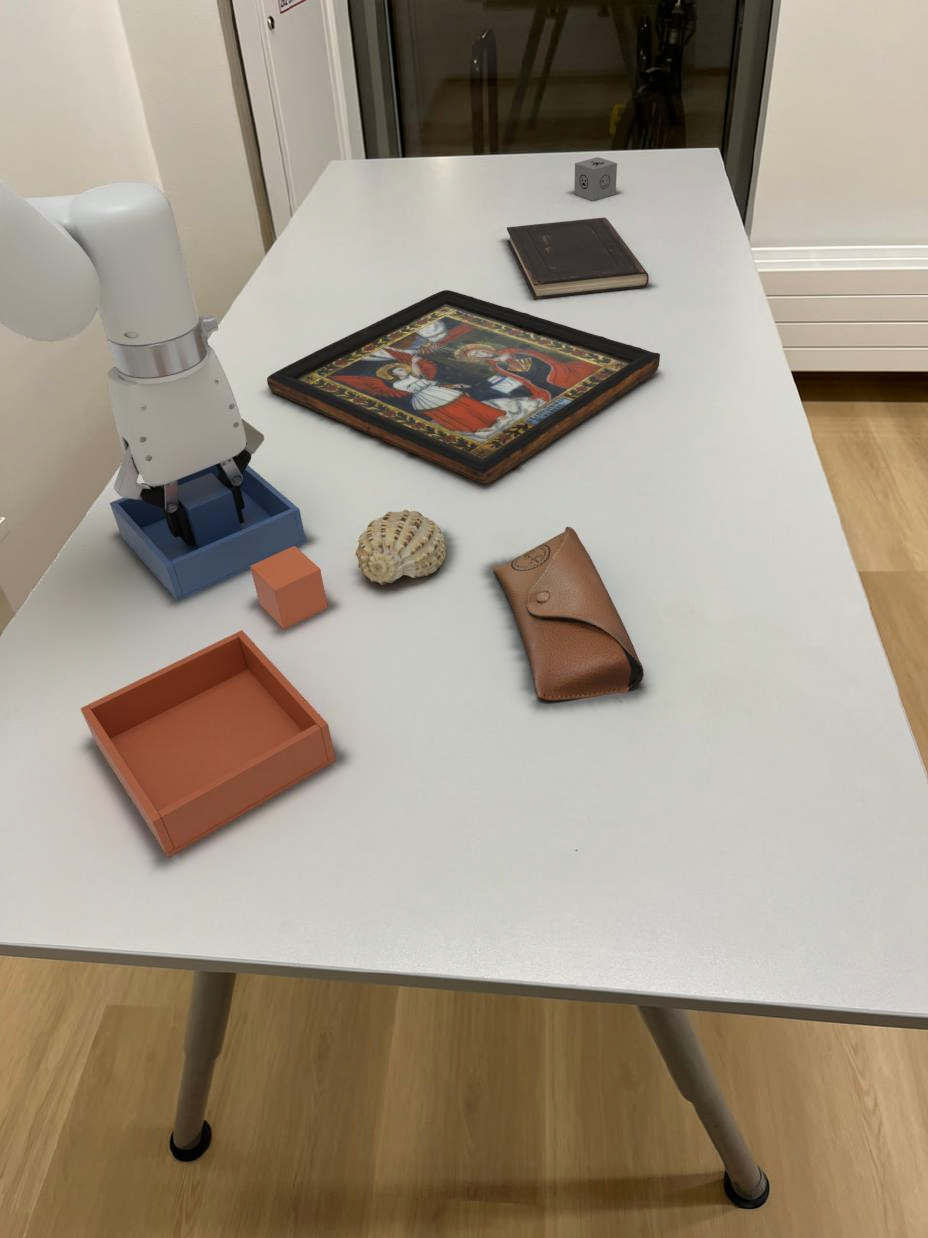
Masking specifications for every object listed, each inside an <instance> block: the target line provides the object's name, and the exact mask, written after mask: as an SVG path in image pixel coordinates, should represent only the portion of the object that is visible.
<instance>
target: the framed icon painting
mask: <svg viewBox="0 0 928 1238" xmlns="http://www.w3.org/2000/svg"><path fill="white" fill-rule="evenodd" d="M660 360H661V353H658V352H653V351H650V350H648V349H644V348H641V347H638V346H633V345H632V344H627V343H624V342H621V341H618V340H617V341H616V340H613V339H610V338H607V337H604V336H601V335H597V334H594V333H590V332H587V331H584V330H580V329H577V328H574V327H572V326H568V325H565V324H561V323H558V322H555V321H552V320H549V319H545V318H543V317H542V318H541V317H538V316H535V315H533V314H530V313H527V312H523V311H520V310H516V309H514V308H510V307H507V306H503V305H500V304H496V303H493V302H490V301H486V300H483V299H480V298H477V297H473V296H470V295H467V294H463V293H461V292H457V291H454V290H449V289H444V290H441V291H438V292H436V293H434V294H431V295H429V296H427V297H425V298H423V299H421V300H419V301H417V302H415V303H413V304H411V305H409V306H407V307H404V308H402V309H401V310H398V311H397V312H395V313H393V314H390V315H388V316H386V317H384V318H382V319H380V320H378V321H376V322H374V323H372V324H370V325H368V326H366V327H364V328H362V329H359V330H357V331H355V332H353V333H351V334H349V335H347V336H344V337H342V338H340V339H339V340H337V341H334V342H332V343H330V344H328V345H326V346H324V347H322V348H319V349H318V350H315V351H314V352H312V353H310V354H308V355H305V356H303V357H302V358H300V359H298V360H296V361H294V362H292V363H290V364H288V365H286V366H284V367H282V368H280V369H279V370H277V371H275V372H273V373H271V374H269V376H267V378H266V383H267V386H268V389H269V390H270V391H271V392H273V394H277V395H279V396H280V397H283V398H285V399H288V400H290V401H292V402H294V403H297V404H299V405H301V406H304V407H305V408H308V409H310V410H313V411H314V412H317V413H320V414H322V415H324V416H327V417H328V418H331V419H333V420H335V421H338V422H340V423H343V424H345V425H347V426H349V427H352V428H354V429H356V430H358V431H361V432H363V433H366V434H368V435H370V436H372V437H374V438H377V439H379V440H381V441H384V442H386V443H388V444H391V445H392V446H395V447H397V448H401V449H403V450H405V451H407V452H409V453H411V454H414V455H416V456H418V457H420V458H422V459H425V460H427V461H430V462H433V463H435V464H437V465H439V466H441V467H443V468H446V469H448V470H450V471H453V472H454V473H457V474H459V475H462V476H464V477H465V478H468V479H470V480H473V481H476V482H478V483H481V484H484V485H485V484H489V483H491V482H493V481H495V480H496V479H498V478H500V477H501V476H503V475H504V474H506V473H508V472H509V471H511V470H513V468H515V467H517V466H518V465H520V464H521V463H523V462H524V461H527V459H528V458H530V457H532V456H533V455H535V454H537V452H540V451H541V450H543V449H544V448H546V447H547V446H548V445H550V444H551V443H552V442H554V441H555V440H557V439H559V438H560V437H561V436H563V435H564V434H565V433H567V432H569V431H570V430H571V429H573V428H574V427H577V426H578V425H579V424H581V423H582V422H584V421H585V420H587V419H588V418H590V417H591V416H593V415H594V414H595V413H597V412H599V411H600V410H602V409H603V408H605V407H606V406H608V405H609V404H610V403H612V402H613V401H615V400H616V399H617V398H618V397H621V396H622V395H624V394H625V393H626V392H628V391H629V390H631V389H633V388H634V387H635V386H637V385H639V384H640V383H642V382H643V381H645V380H646V379H648V378H649V377H651V376H652V375H654V374H655V373H656V372H657V371H658V370H659V367H660V362H661V361H660Z"/></svg>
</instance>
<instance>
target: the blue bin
mask: <svg viewBox="0 0 928 1238" xmlns="http://www.w3.org/2000/svg"><path fill="white" fill-rule="evenodd" d="M209 473H212V474H213V475H214V476H215V477H216V476H218V474H219V472H218V470H217V468H216V466H215V465H213V466H211V467H208V468H206V469H204V470H201V471H199V472H196V473H194V474H191V475H188V476H186V477H183V478H181V479H178V480H177V484H178V486H179V485H182V484H184V483H187V482H189V481H192V480H194V479H197V478H199V477H202V476H204V475H207V474H209ZM242 477H243V482H242V483H241V484H240V489H241V493H242V497H243V501H244V505H245V508H244V509H242V514H243V518H244V523H241V524H240V526H241V531H238V532H236V533H234V534H232V535H229V536H227V537H225V538H222V539H220V540H218V541H215V542H213V543H211V544H209V545H206V546H204V547H202V548H199V547H198V546H197V545H196V544H195V543H194V544H193V545H191V546H188V545H187V544H186V543H185V542H184V541H183V540H182V539H181V538H180V537H176V538H175V537H174V536H173V535H172V534H171V532H170V530H169V528H168V525H167V521H166V518H165V515H164V512H163V509H162V508H159V507H157V506H154V505H151V504H149V503H146V502H144V501H142V500H134V499H129V498H124V497H121V498H118V499H116V500H114V501H111V502H109V506H110V508H111V511H112V514H113V517H114V520H115V522H116V524H117V528H118V531H119V533H120V536H121V538H122V539H123V540H124V541H125V542H126V544H127V545H128V546H129V547H130V548H131V549H132V550H133V551H134V553H135V554H136V555H137V557H138V558H140V560H141V561H142V562H143V563H144V564H145V566H146V567H147V568H148V569H149V570H150V572H152V574H153V575H154V576H155V577H156V578H157V580H158V581H159V582H160V583H161V584H162V585H163V586H164V587H165V588H166V590H167V591H168V592H169V593H170V595H171V596H172V597H173V598H174V599H175V601H177V602H180V601H182V600H184V599H187V598H189V597H191V596H193V595H196V594H198V593H201V592H202V591H204V590H206V589H208V588H211V587H213V586H215V585H217V584H219V583H222V582H224V581H226V580H228V579H231V578H233V577H235V576H237V575H239V574H241V573H244V572H246V571H248V570H251V568H250V566H251V565H253V564H255V563H258V562H260V561H262V560H264V559H266V558H269V557H271V556H273V555H275V554H277V553H280V552H282V551H284V550H286V549H288V548H291V547H293V546H296V547H297V548H298V547H301V546H303V545H305V544H307V540H306V534H305V530H304V525H303V519H302V515H301V511H300V510H301V509H300V508H299V507H298V506H297V505H295V504H294V503H293V502H292V501H291V500H289V499H288V498H287V497H286V496H285V495H284V494H282V493H281V492H280V490H278V489H277V488H276V487H274V486H273V485H272V484H271V483H269V481H267V480H266V479H265V478H264V477H262V475H260V474H259V473H258V472H256V471H255V469H253V468H252V467H251V466H250V465H248V466H247V468H246V469H245V471H244V473H243V475H242Z"/></svg>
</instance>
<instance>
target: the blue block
mask: <svg viewBox="0 0 928 1238" xmlns="http://www.w3.org/2000/svg"><path fill="white" fill-rule="evenodd" d="M178 501H179V503H180V505H181V506H182V507H183V508H184V509H185V511H186V513H187V517H188V520H189V523H190V527H191V530H192V533H193V537H194V540H195V542H194V543H195V544H196V545H197V546H198V547H199V548H202V547H204V546H206V545H209V544H211V543H213V542H215V541H218V540H220V539H222V538H225V537H227V536H229V535H232V534H234V533H236V532H238V531H241V526H240V522H239V518H238V514H237V510H236V506H235V502H234V499H233V495H232V492H231V491H230V490H229V489H228V488H227V487H226V486H225V485H224V484H223V483H222V482H220V481H219V480H218V479H217V478H216V477H215V476H214V475H213V474H212V473H209V474H207V475H204V476H202V477H199V478H197V479H194V480H192V481H189V482H187V483H184V484H182V485H179V486H178Z"/></svg>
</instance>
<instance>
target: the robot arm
mask: <svg viewBox="0 0 928 1238" xmlns="http://www.w3.org/2000/svg"><path fill="white" fill-rule="evenodd" d="M173 211H174V210H173V207H172V205H171V202H170V200H169V198H168V196H167V195H166V194H165V192H163V191H162V190H161V189H160V188H159V187H157V186H155V185H153V184H150V183H147V182H140V181H121V182H113V183H108V184H103V185H99V186H96V187H93V188H90V189H88V190H85V191H83V192H81V193H78V194H70V195H56V196H40V197H39V196H35V197H23V196H21V195H20V194H19V193H18V192H17V191H16V190H15V189H13V187H11V186H10V185H9V184H8V183H7V182H6V181H5V180H4V179H3V178H1V177H0V324H1V325H2V326H4V327H5V328H6V329H8V330H9V331H12V332H13V333H15V334H18V335H19V336H21V337H24V338H26V339H30V340H33V341H34V340H35V341H39V342H49V343H51V342H52V343H53V342H61V341H65V340H67V339H72V338H73V337H75V336H76V335H77V336H78V335H79V334H80V333H82V331H84V330H85V329H86V328H87V327H89V325H91V323H92V322H93V320H94V318H95V317H96V314H97V312H98V315H99V318H100V322H101V326H102V327H103V328H102V329H103V331H104V334H105V338H106V341H107V343H108V347H109V350H110V353H111V357H112V359H113V363H114V367H111V368H110V369H109V370H108V371H107V381H108V382H107V384H108V391H109V392H108V393H109V399H110V404H111V409H112V414H113V415H112V416H113V419H114V424H115V428H116V432H117V436H118V440H119V444H120V447H121V451H122V453H123V454H122V455H123V459H122V462H121V464H120V467H119V470H118V473H117V476H116V479H115V482H114V485H113V490H114V491H115V493H117V494H118V495H119V496H120V497H121V498H129V499H134V500H142V501H144V502H146V503H149V504H151V505H154V506H157V507H159V508H162V509H163V512H164V515H165V518H166V521H167V525H168V528H169V530H170V532H171V534H172V535H173V536H174V537H175V538H176V537H180V538H181V539H182V540H183V541H184V542H185V543H186V544H187V545H188V546H191V545H193V544H194V542H195V540H194V537H193V533H192V530H191V527H190V523H189V520H188V517H187V513H186V511H185V509H184V508H183V507H182V506H181V505H180V503H179V501H178V484H177V480H178V479H181V478H183V477H186V476H188V475H191V474H194V473H196V472H199V471H201V470H204V469H206V468H208V467H211V466H213V465H215V466H216V468H217V470H218V472H219V474H218V476H216V478H217V479H218V480H219V481H220V482H222V483H223V484H224V485H225V486H226V487H227V488H228V489H229V490H230V491H231V492H232V495H233V499H234V502H235V506H236V510H237V514H238V518H239V522H240V524H241V523H244V518H243V514H242V509H244V508H245V505H244V501H243V497H242V493H241V489H240V484H241V483H242V482H243V477H242V475H243V473H244V471H245V469H246V468H247V466H249V464H250V462H251V460H252V456H253V455H254V454H255V453H256V451H257V450H258V449H259V448H260V446H261V445H262V444H263V443H264V441H265V435H264V434H263V433H262V432H260V431H259V430H258V429H257V428H255V427H254V426H253V425H251V424H250V423H249V422H248V421H246V420H245V419H244V418H242V416H241V413H240V409H239V407H238V403H237V401H236V397H235V394H234V392H233V390H232V387H231V384H230V381H229V380H228V377H227V375H226V373H225V370H224V368H223V365H222V363H221V362H220V359H219V357H218V355H217V353H216V351H215V349H214V348H212V346H211V345H210V344H209V342H208V339H209V338H208V337H210V336H211V334H212V333H215V332H218V331H219V325H218V321H217V320H216V318H215V317H214V315H212V314H211V315H208V316H200V315H199V311H198V308H197V302H196V300H195V295H194V291H193V288H192V284H191V281H190V275H189V272H188V267H187V265H186V260H185V255H184V252H183V247H182V243H181V239H180V235H179V231H178V227H177V223H176V219H175V215H174V212H173ZM139 475H140V476H141V478H142V480H143V482H142V483H139V482H138V478H139Z"/></svg>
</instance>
